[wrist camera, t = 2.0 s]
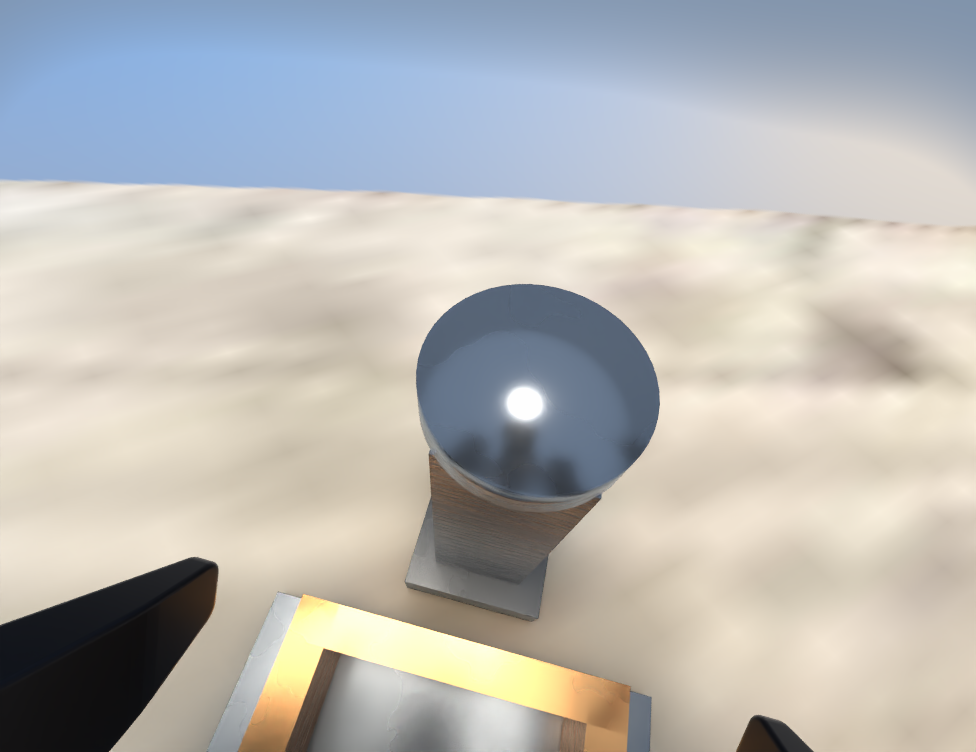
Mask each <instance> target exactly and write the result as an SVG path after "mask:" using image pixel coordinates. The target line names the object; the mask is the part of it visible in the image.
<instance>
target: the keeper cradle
mask: <svg viewBox="0 0 976 752" xmlns="http://www.w3.org/2000/svg"><path fill="white" fill-rule="evenodd" d="M650 724H651V697H649V696H645V695H642V694H638V693H635V692H631V691H630V686H628V685H624V684H620V683H617V682H613V681H610V680H606V679H603V678H599V677H596V676H592V675H588V674H585V673H581V672H578V671H574V670H571V669H567V668H564V667H560V666H557V665H553V664H549V663H546V662H542V661H539V660H535V659H532V658H528V657H525V656H521V655H517V654H514V653H510V652H507V651H503V650H500V649H496V648H493V647H489V646H485V645H482V644H478V643H475V642H471V641H468V640H464V639H461V638H457V637H454V636H450V635H446V634H443V633H439V632H436V631H432V630H429V629H425V628H422V627H418V626H414V625H411V624H407V623H404V622H400V621H397V620H393V619H390V618H386V617H382V616H379V615H375V614H372V613H368V612H365V611H361V610H358V609H354V608H351V607H347V606H343V605H340V604H336V603H333V602H329V601H326V600H322V599H319V598H315V597H311V596H308V595H304V594H303V596H302V598H298V597H295V596H291V595H288V594H284V593H280V592H278V593H277V595H276V597H275V599H274V602H273V604H272V606H271V608H270V611H269V613H268V615H267V617H266V620H265V622H264V624H263V626H262V629H261V631H260V633H259V635H258V638H257V640H256V642H255V644H254V646H253V649H252V651H251V653H250V655H249V658H248V660H247V662H246V664H245V667H244V669H243V671H242V673H241V676H240V678H239V680H238V682H237V684H236V687H235V689H234V691H233V693H232V696H231V698H230V700H229V702H228V705H227V707H226V709H225V711H224V714H223V716H222V718H221V720H220V723H219V725H218V727H217V729H216V731H215V734H214V736H213V738H212V740H211V743H210V745H209V747H208V749H207V752H649V751H650Z"/></svg>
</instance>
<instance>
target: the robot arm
mask: <svg viewBox="0 0 976 752" xmlns="http://www.w3.org/2000/svg"><path fill="white" fill-rule="evenodd" d="M217 581H218V565H217V564H216V563H215V562H213V561H209V560H205V559H202V558H198V557H191V558H188V559H185V560H182V561H179V562H176V563H174V564H171V565H168V566H165V567H162V568H160V569H157V570H154V571H151V572H148V573H145V574H143V575H140V576H137V577H134V578H131V579H129V580H126V581H123V582H120V583H117V584H114V585H112V586H109V587H106V588H103V589H100V590H98V591H95V592H92V593H89V594H86V595H84V596H81V597H78V598H75V599H72V600H69V601H67V602H64V603H61V604H58V605H55V606H53V607H50V608H47V609H44V610H41V611H39V612H36V613H33V614H30V615H27V616H24V617H22V618H19V619H16V620H13V621H10V622H8V623H5V624H2V625H0V752H109V751H110V750H111V749H112V747H113V746H114V745H115V744H116V743H117V742H118V740H119V739H120V738H121V737H122V736H123V734H124V733H125V732H126V731H127V730H128V728H129V727H130V726H131V725H132V724H133V722H134V721H135V720H136V719H137V717H138V716H139V715H140V714H141V712H142V711H143V710H144V708H145V707H146V706H147V704H148V703H149V702H150V700H151V699H152V698H153V696H154V695H155V694H156V692H157V691H158V689H159V688H160V686H161V685H162V684H163V682H164V681H165V679H166V678H167V677H168V675H169V674H170V672H171V671H172V670H173V668H174V667H175V665H176V664H177V663H178V661H179V660H180V658H181V657H182V656H183V654H184V653H185V651H186V650H187V649H188V647H189V646H190V644H191V643H192V642H193V640H194V639H195V637H196V636H197V635H198V633H199V632H200V630H201V629H202V627H203V626H204V625H205V623H206V622H207V620H208V619H209V617H210V615H211V614H212V611H213V609H214V606H215V600H216V591H217ZM736 752H813V751H812V750H811V749H810V748H809V747H808V746H807V745H806V744H805V743H804V742H803V741H802V740H801V739H800V738H799V737H798V736H797V735H796V734H795V733H794V732H793V731H792V730H791V729H790V728H789V727H788V726H787V725H786V724H785V723H783V722H781V721H779V720H776V719H772V718H769V717H765V716H762V715H755V716H753V717H752V718H751V720H750V721H749V724H748V726H747V728H746V730H745V732H744V735H743V737H742V739H741V741H740V744H739V746H738V748H737V750H736Z"/></svg>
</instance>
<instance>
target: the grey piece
mask: <svg viewBox="0 0 976 752" xmlns="http://www.w3.org/2000/svg"><path fill="white" fill-rule="evenodd" d="M416 386H417V397H418V408H419V416H420V422H421V427H422V430H423V433H424V436H425V439H426V442H427V444H428V446H429V448H430V452H429V466H430V482H431V499H430V502H429V505H428V509H427V512H426V515H425V518H424V521H423V525H422V528H421V531H420V534H419V537H418V541H417V544H416V547H415V550H414V553H413V557H412V560H411V563H410V566H409V569H408V573H407V576H406V579H405V583H406V585H407V587H408V588H412V589H416V590H419V591H423V592H426V593H430V594H434V595H437V596H441V597H444V598H448V599H452V600H455V601H459V602H462V603H466V604H470V605H473V606H477V607H480V608H484V609H488V610H491V611H495V612H499V613H502V614H506V615H509V616H513V617H517V618H520V619H524V620H527V621H531V622H532V621H534V620H536V619H538V617H539V610H540V604H541V598H542V592H543V585H544V579H545V573H546V566H547V560H548V554H549V553H550V552H551V551H552V550H553V549H554V548H555V547H556V546H557V545H558V544H559V542H560V541H561V540H562V539H563V538H564V537H565V536H566V535H567V534H568V533H569V532H570V531H571V530H572V529H573V528H574V527H575V526H576V525H577V524H578V523H579V521H580V520H581V519H582V518H583V517H584V516H585V515H586V514H587V513H588V512H589V511H590V510H591V509H592V508H593V507H594V506H595V505H596V504H597V503H598V502H599V500H600V499H601V495H602V493H603V492H605V491H606V490H607V489H609V488H610V487H611V486H612V485H613V484H614V483H615V482H616V481H617V480H618V479H619V478H620V477H621V476H622V475H623V474H624V472H625V471H626V470H627V469H628V468H629V467H630V466H631V465H632V464H633V463H634V462H635V461H636V460H637V459H638V458H639V457H640V455H641V454H642V452H643V451H644V450H645V448H646V447H647V445H648V444H649V441H650V439H651V437H652V435H653V433H654V430H655V427H656V423H657V420H658V414H659V406H660V399H659V387H658V382H657V377H656V374H655V371H654V368H653V365H652V362H651V360H650V358H649V356H648V354H647V352H646V351H645V349H644V347H643V346H642V344H641V343H640V341H639V340H638V339H637V337H636V336H635V335H634V334H633V333H632V331H631V330H630V329H629V328H628V327H627V326H626V325H625V324H624V323H623V322H622V321H621V320H620V319H618V318H617V317H616V316H615V315H613V314H612V313H611V312H609V311H608V310H606V309H605V308H603V307H602V306H600V305H599V304H597V303H595V302H593V301H591V300H589V299H587V298H585V297H583V296H580V295H578V294H575V293H573V292H570V291H566V290H563V289H559V288H555V287H550V286H544V285H533V284H515V285H506V286H500V287H495V288H491V289H487V290H484V291H481V292H479V293H476V294H474V295H472V296H470V297H467V298H465V299H464V300H462V301H460V302H459V303H457V304H456V305H454V306H453V307H452V308H450V309H449V310H448V311H447V312H446V313H444V314H443V315H442V317H441V318H440V319H439V320H438V321H437V322H436V323H435V324H434V326H433V327H432V329H431V330H430V332H429V333H428V335H427V337H426V339H425V341H424V343H423V345H422V348H421V351H420V354H419V358H418V363H417V370H416Z"/></svg>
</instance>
